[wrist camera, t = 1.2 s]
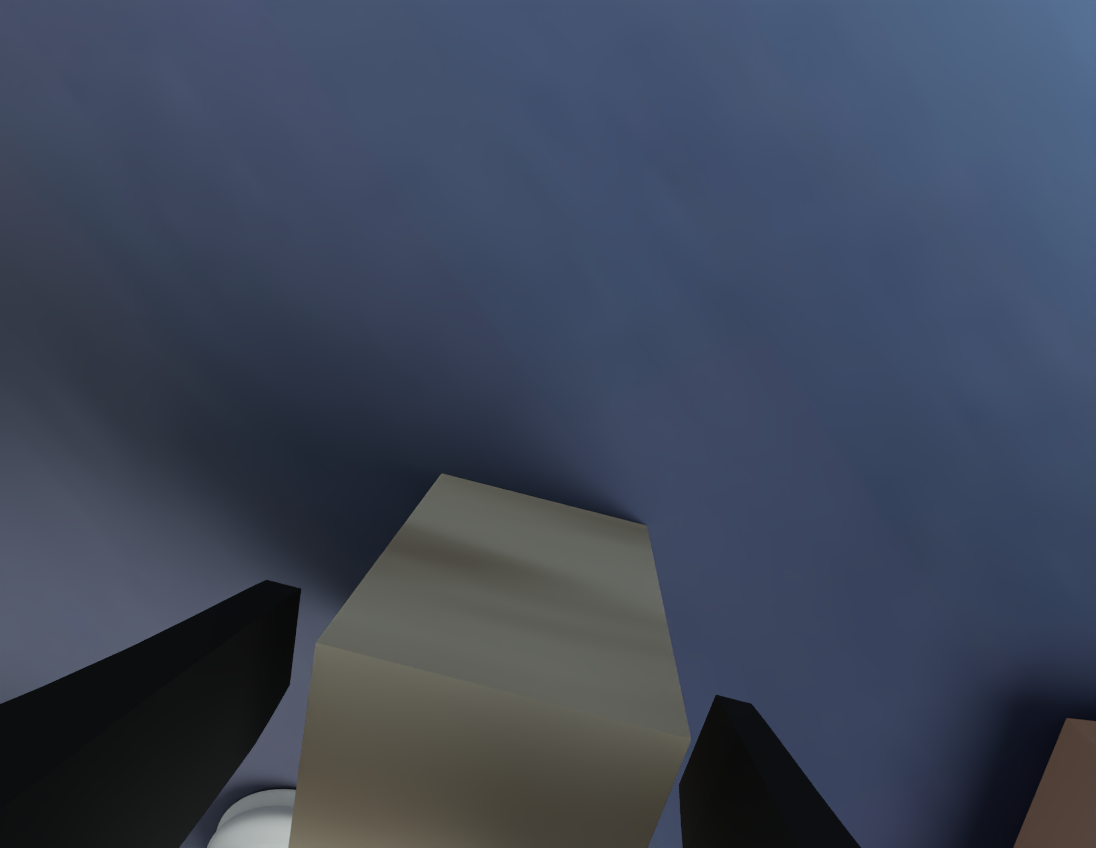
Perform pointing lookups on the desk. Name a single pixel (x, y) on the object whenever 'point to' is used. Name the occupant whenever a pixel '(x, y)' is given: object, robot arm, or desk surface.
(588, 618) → the metal block
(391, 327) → the desk surface
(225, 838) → the chess piece
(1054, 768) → the block
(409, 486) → the desk surface
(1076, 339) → the desk surface
